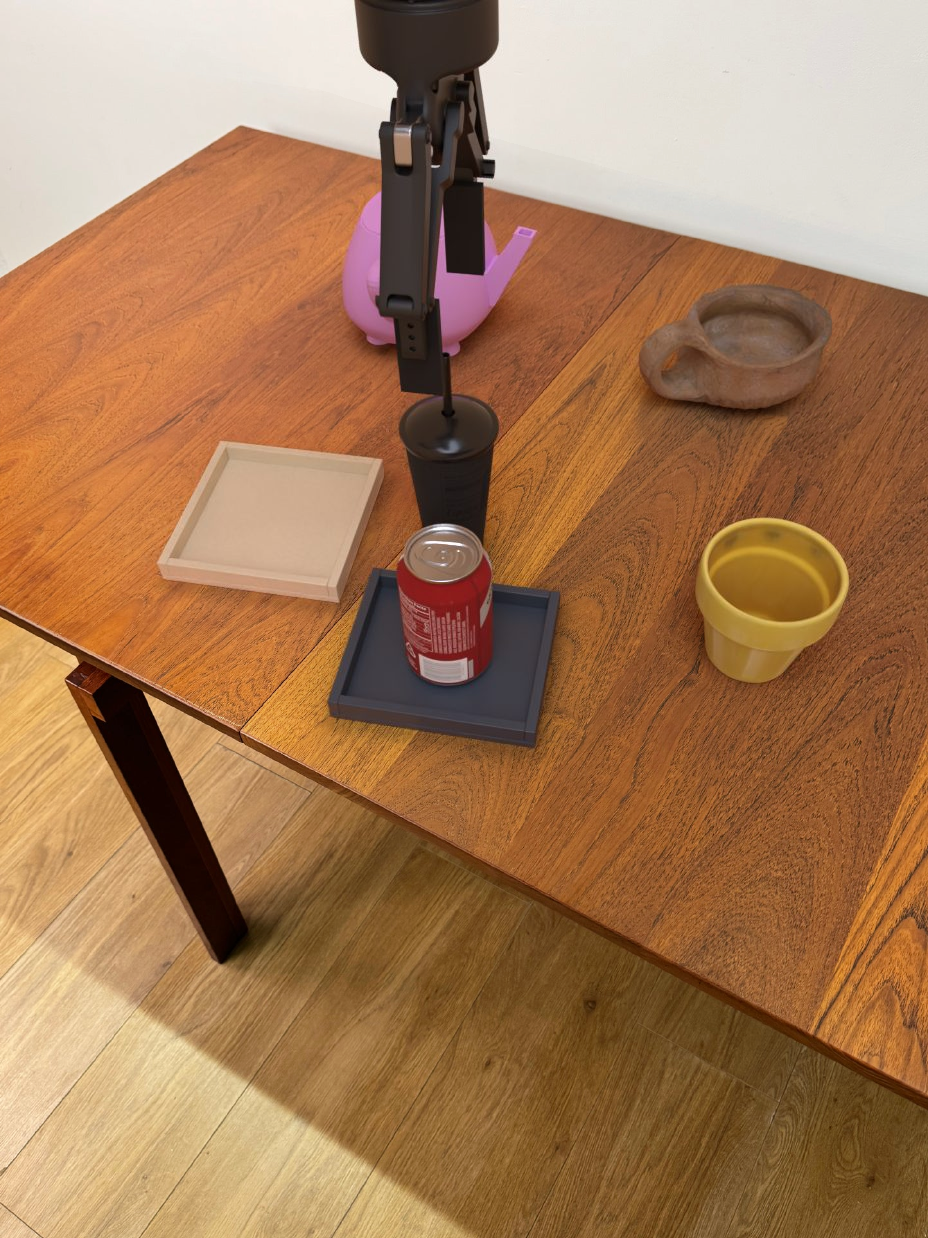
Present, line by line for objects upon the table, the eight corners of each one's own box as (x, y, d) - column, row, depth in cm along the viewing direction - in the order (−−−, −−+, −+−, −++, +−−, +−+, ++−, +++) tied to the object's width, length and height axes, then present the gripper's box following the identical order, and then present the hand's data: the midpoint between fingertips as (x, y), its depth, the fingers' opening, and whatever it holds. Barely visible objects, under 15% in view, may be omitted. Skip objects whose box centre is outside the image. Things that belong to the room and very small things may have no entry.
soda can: (475, 701, 75) (472, 599, 66) (393, 677, 77) (378, 574, 68) (504, 634, 79) (505, 529, 70) (425, 613, 81) (416, 507, 72)
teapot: (499, 408, 98) (498, 270, 86) (313, 372, 102) (288, 236, 90) (553, 297, 109) (559, 162, 98) (383, 269, 114) (370, 137, 102)
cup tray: (163, 579, 85) (156, 562, 83) (225, 457, 94) (220, 440, 93) (339, 603, 83) (336, 586, 81) (384, 475, 92) (382, 458, 91)
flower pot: (819, 713, 74) (855, 633, 67) (679, 696, 76) (698, 615, 68) (813, 608, 81) (845, 523, 73) (684, 593, 82) (703, 508, 75)
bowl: (709, 462, 90) (705, 357, 84) (617, 414, 100) (608, 318, 95) (856, 393, 95) (863, 290, 89) (754, 354, 106) (754, 260, 100)
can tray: (330, 717, 76) (327, 701, 74) (375, 583, 84) (372, 567, 82) (534, 748, 73) (535, 732, 72) (559, 608, 82) (560, 591, 80)
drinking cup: (482, 507, 89) (478, 313, 74) (511, 567, 85) (514, 374, 69) (400, 528, 88) (379, 335, 72) (425, 590, 83) (409, 399, 68)
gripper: (444, 82, 43) (462, 456, 59) (536, -107, 58) (530, 233, 74) (277, 73, 44) (341, 442, 60) (410, -110, 59) (432, 225, 76)
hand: (445, 327), depth 67 cm, fingers open, 13 cm apart
